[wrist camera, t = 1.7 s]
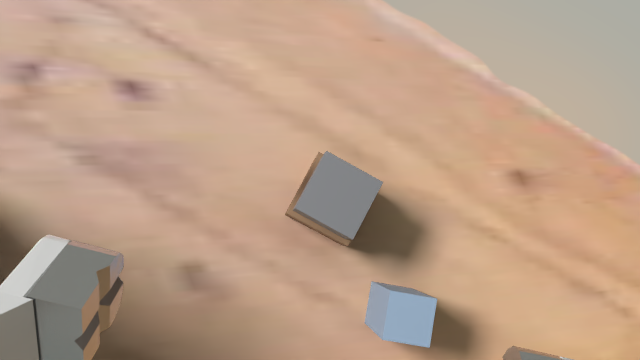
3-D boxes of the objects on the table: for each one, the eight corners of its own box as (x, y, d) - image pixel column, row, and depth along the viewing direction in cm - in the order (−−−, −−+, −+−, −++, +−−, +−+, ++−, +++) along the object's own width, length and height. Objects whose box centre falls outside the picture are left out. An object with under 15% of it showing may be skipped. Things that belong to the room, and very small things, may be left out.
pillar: (404, 329, 59) (429, 347, 50) (364, 322, 58) (382, 339, 49) (411, 288, 59) (437, 298, 50) (371, 281, 59) (390, 290, 50)
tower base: (341, 244, 59) (348, 246, 54) (284, 214, 59) (286, 213, 54) (370, 188, 60) (379, 184, 55) (314, 158, 59) (319, 152, 55)
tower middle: (345, 238, 54) (352, 239, 49) (292, 210, 54) (295, 208, 49) (372, 186, 55) (383, 182, 50) (320, 158, 54) (326, 150, 50)
